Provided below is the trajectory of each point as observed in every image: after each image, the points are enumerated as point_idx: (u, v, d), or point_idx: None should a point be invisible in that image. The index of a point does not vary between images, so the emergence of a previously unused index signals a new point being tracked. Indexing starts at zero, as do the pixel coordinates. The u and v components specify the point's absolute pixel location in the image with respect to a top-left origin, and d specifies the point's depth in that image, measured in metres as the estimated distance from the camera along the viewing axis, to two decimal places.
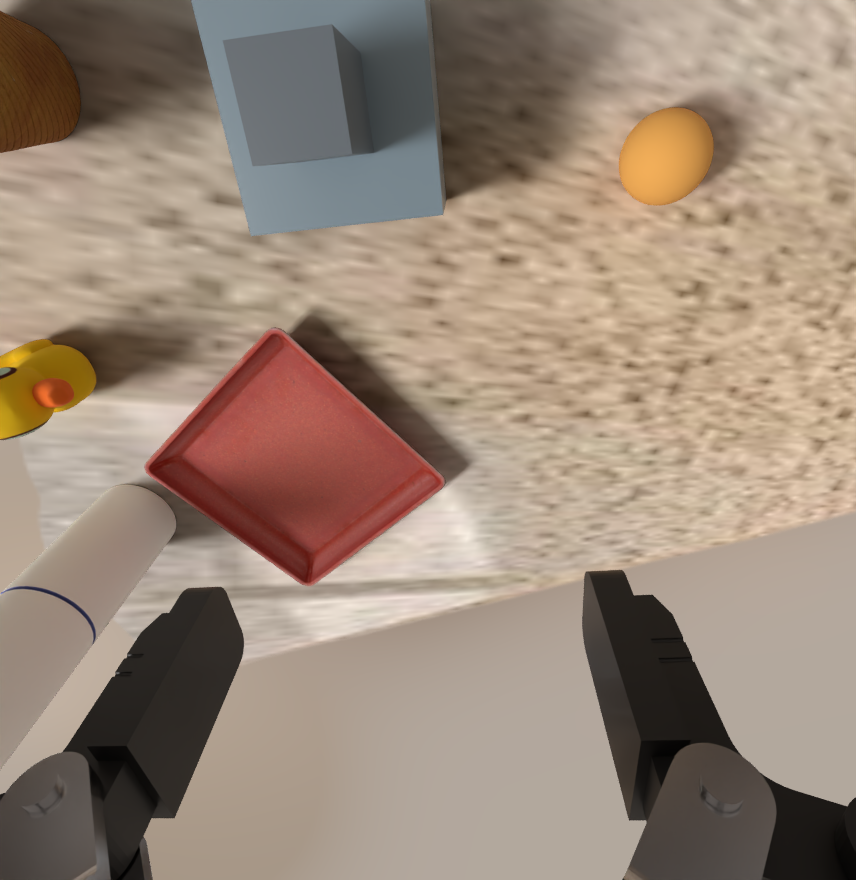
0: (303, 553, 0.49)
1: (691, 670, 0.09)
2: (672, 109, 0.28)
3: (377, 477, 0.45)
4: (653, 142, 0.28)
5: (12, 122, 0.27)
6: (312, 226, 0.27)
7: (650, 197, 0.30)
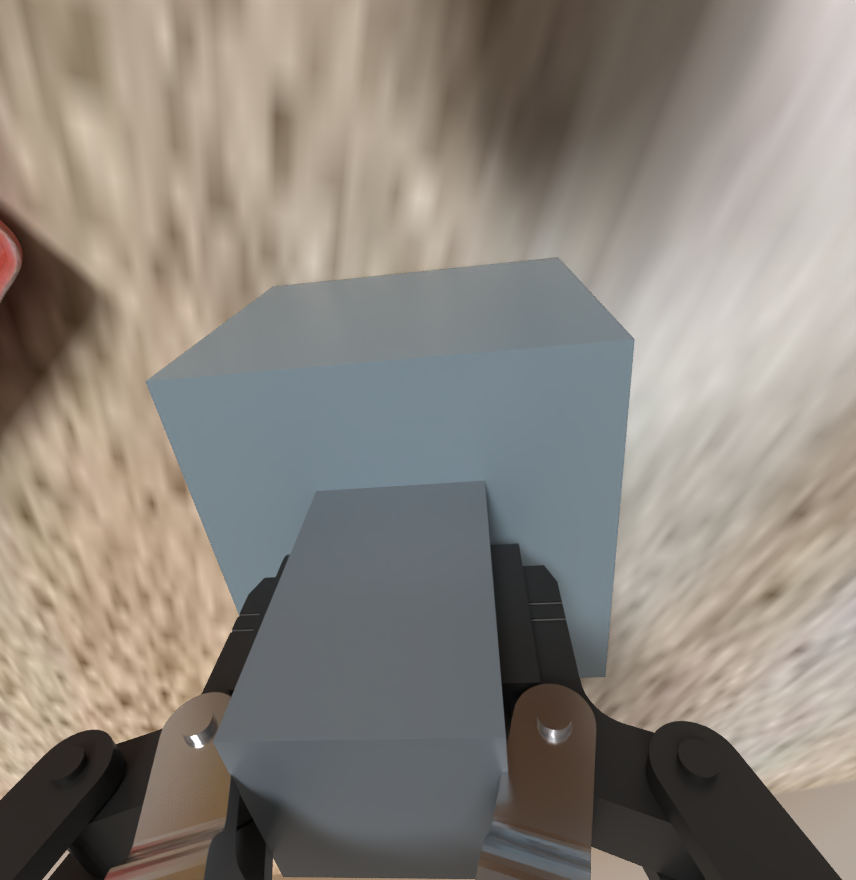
0: None
1: (562, 628, 0.10)
2: None
3: None
4: None
5: None
6: (201, 508, 0.13)
7: None
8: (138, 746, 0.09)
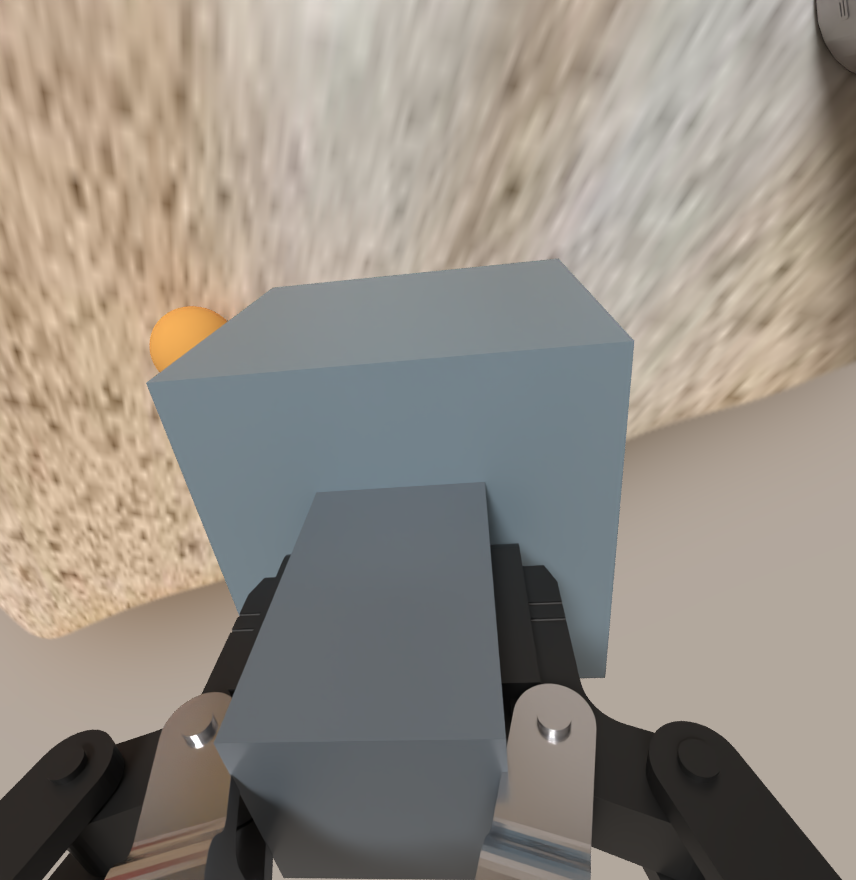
0: None
1: (562, 628, 0.10)
2: None
3: None
4: (189, 336, 0.29)
5: None
6: (201, 509, 0.13)
7: None
8: (138, 746, 0.09)
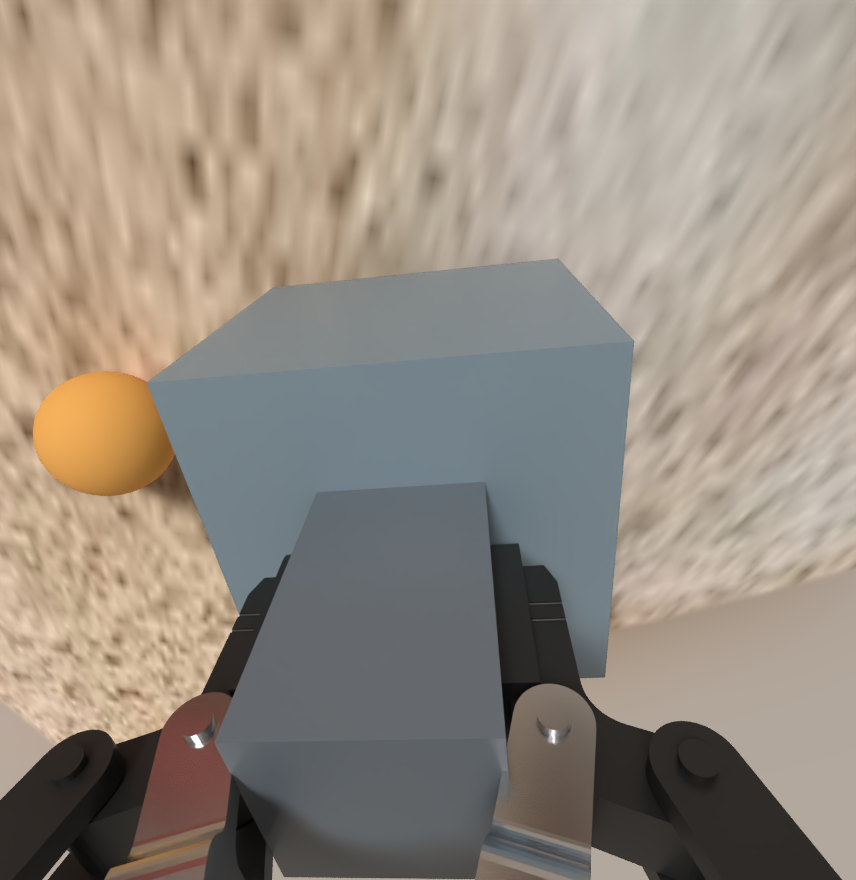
0: None
1: (562, 628, 0.10)
2: None
3: None
4: None
5: None
6: (201, 508, 0.13)
7: (136, 419, 0.19)
8: (138, 746, 0.09)
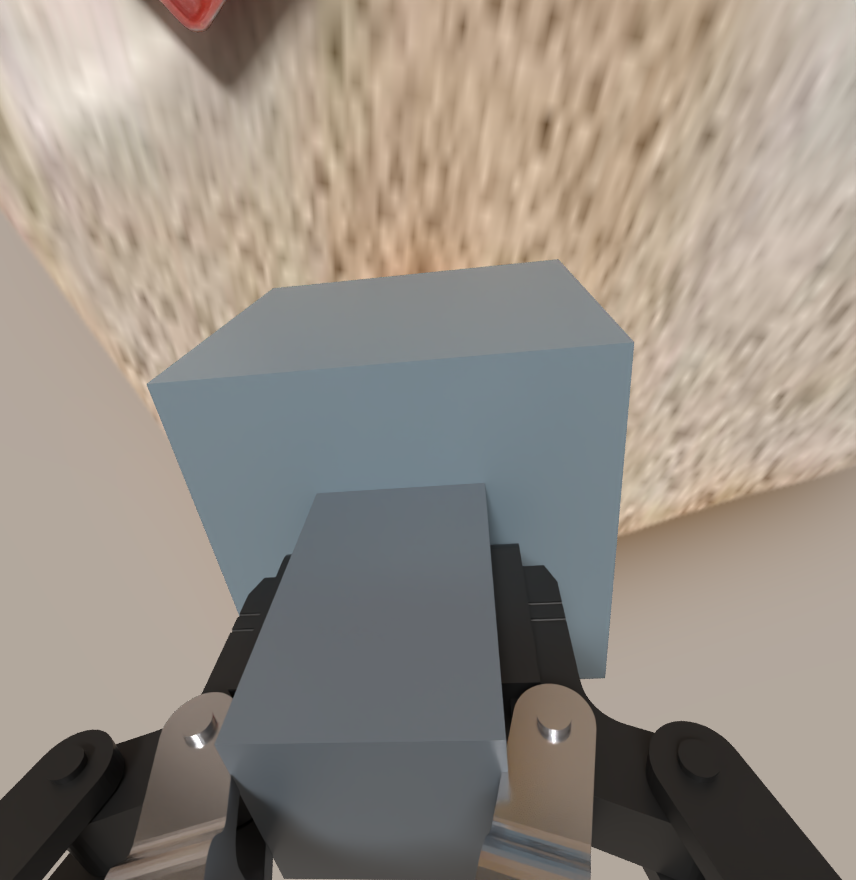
0: None
1: (562, 628, 0.10)
2: None
3: None
4: None
5: None
6: (201, 510, 0.13)
7: None
8: (138, 746, 0.09)
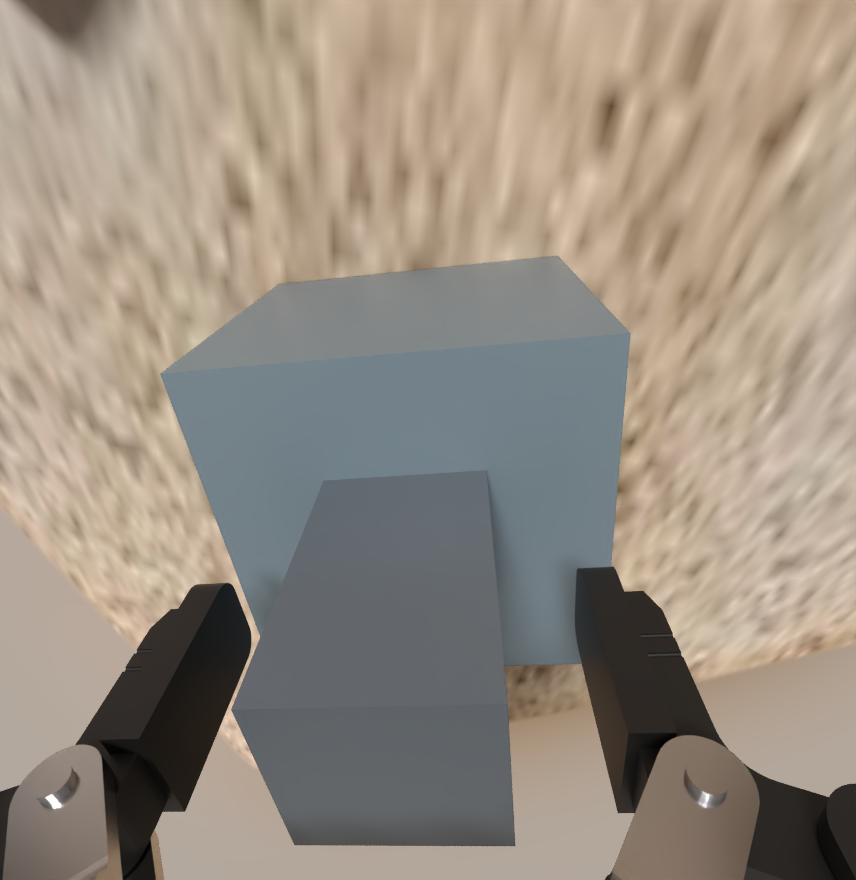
0: None
1: (679, 665, 0.09)
2: None
3: None
4: None
5: None
6: (212, 497, 0.13)
7: None
8: None
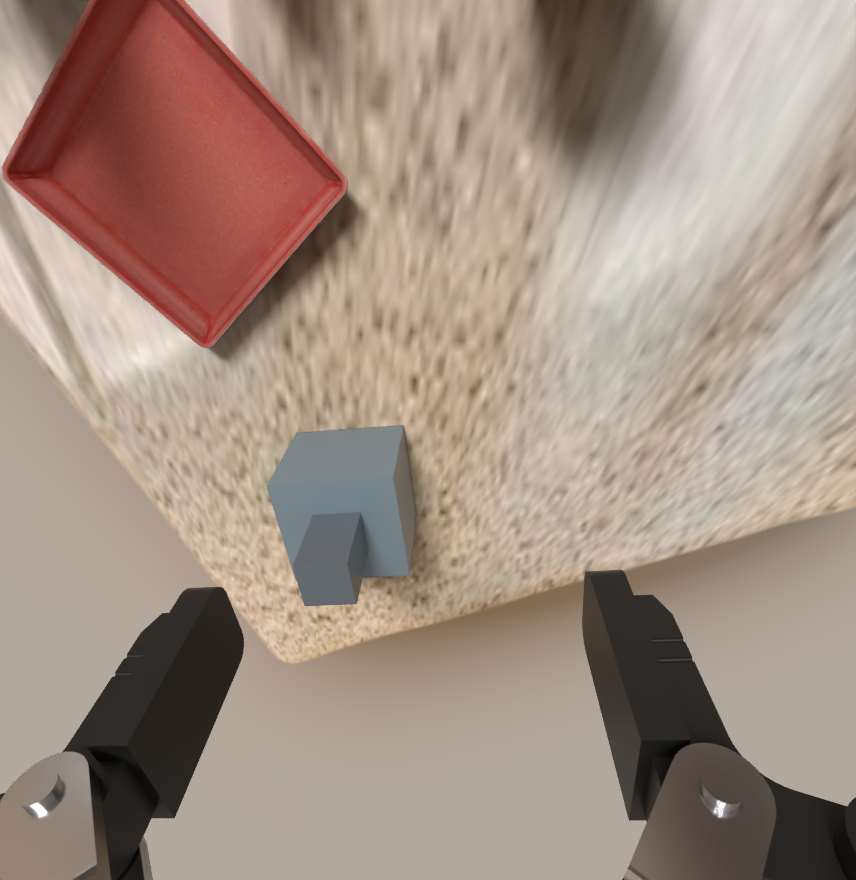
0: (48, 164, 0.38)
1: (691, 670, 0.09)
2: None
3: (188, 268, 0.42)
4: None
5: None
6: (278, 519, 0.43)
7: None
8: None
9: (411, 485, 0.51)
